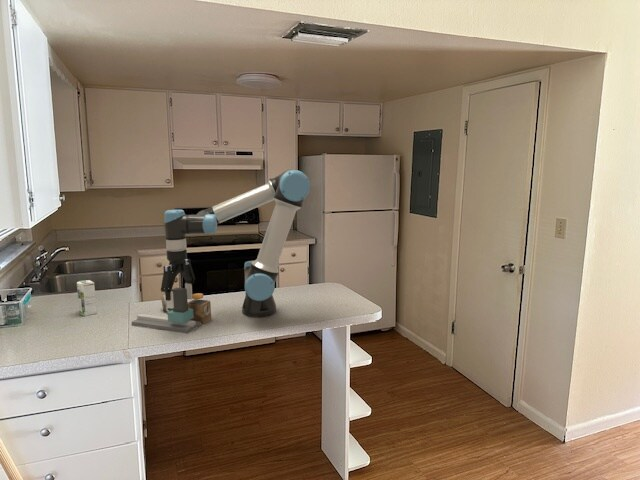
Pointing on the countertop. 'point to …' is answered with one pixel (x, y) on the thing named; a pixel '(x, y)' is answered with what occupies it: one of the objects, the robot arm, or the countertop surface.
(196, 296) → the button
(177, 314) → the carriage
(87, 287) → the syrup box
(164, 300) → the ceramic mug
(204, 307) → the gauge cabinet
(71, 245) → the countertop surface
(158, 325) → the rail
